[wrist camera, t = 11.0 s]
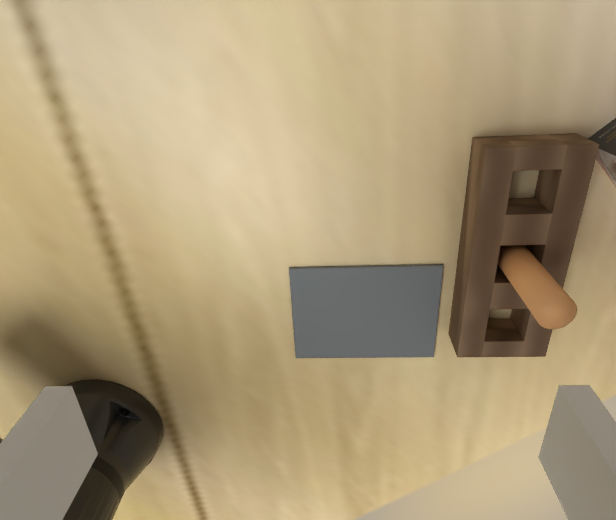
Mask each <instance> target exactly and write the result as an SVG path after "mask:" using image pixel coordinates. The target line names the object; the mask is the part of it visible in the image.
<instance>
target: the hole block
mask: <svg viewBox="0 0 616 520" xmlns="http://www.w3.org/2000/svg"><path fill="white" fill-rule="evenodd" d="M598 147H599V144H598V143H596V142H593V141H591V140H589V139H587V138H584V137H582V136H580V135H578V134H549V135H521V136H494V137H473V138H472V146H471V155H470V163H469V171H468V179H467V187H466V195H465V204H464V212H463V220H462V228H461V236H460V245H459V253H458V261H457V269H456V277H455V285H454V294H453V302H452V310H451V318H450V326H449V336H450V339H451V342H452V344H453V347H454V349H455V352H456V355H457V357H539V356H546V352H547V348H548V344H549V340H550V337H551V333H552V329H547V328H544V327H542V326H541V325H540V324H539V323H538V322H537V320H536V319H535V318H534V316H533V315H532V313H531V312H530V310H529V309H528V307H527V306H526V304H525V303H524V302H523V300H522V299H521V297H520V296H519V294H518V293H517V291H516V290H515V289H514V287H513V286H512V284H511V283H510V281H509V280H508V278H507V277H506V275H505V274H504V273H503V271H502V270H501V268H500V267H499V265H498V258H499V252H500V246H502V245H525V246H526V247H527V249H528V250H529V251H530V252H531V253H532V254H533V255H534V257H535V258H536V259H537V260H538V261H539V262H540V264H541V265H542V266H543V267H544V268H545V269H546V270H547V272H548V273H549V274H550V275H551V276H552V277H553V278H554V280H555V281H556V282H557V283H558V284H559V285H560V287H561V288H562V289H563V285H564V281H565V277H566V274H567V270H568V266H569V262H570V258H571V254H572V250H573V246H574V242H575V238H576V234H577V230H578V226H579V222H580V218H581V214H582V210H583V207H584V203H585V199H586V195H587V191H588V187H589V183H590V179H591V175H592V171H593V167H594V163H595V159H596V155H597V151H598ZM523 170H540V171H539V176H538V181H537V186H536V191H535V196H534V198H521V199H509V193H510V187H511V181H512V175H513V171H523ZM490 309H512V313H511V318H510V319H488V317H489V311H490Z"/></svg>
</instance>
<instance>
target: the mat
mask: <svg viewBox="0 0 616 520" xmlns="http://www.w3.org/2000/svg"><path fill="white" fill-rule="evenodd" d="M289 274H290V287H291V300H292V313H293V326H294V340H295V353H296V358H374V357H434V349H435V339H436V330H437V321H438V311H439V302H440V292H441V283H442V274H443V264H425V265H375V266H324V267H289Z"/></svg>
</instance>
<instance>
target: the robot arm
mask: <svg viewBox="0 0 616 520" xmlns="http://www.w3.org/2000/svg"><path fill="white" fill-rule="evenodd" d="M162 436H163V426H162V422H161V419H160V417H159V415H158V413H157V412H156V410H155V409H154V408H153V407H152V405H151V404H150V403H149V402H148V401H146V400H145V399H144V398H143V397H142V396H140V395H139V394H137V393H135V392H134V391H132V390H130V389H128V388H126V387H123V386H121V385H118V384H115V383H111V382H106V381H99V380H84V381H78V382H74V383H71V384H68V385H66V386H45V387H44V389H43V390H42V391H41V393H40V394H39V395H38V396H37V398H36V399H35V400H34V401H33V403H32V404H31V405H30V407H29V408H28V409H27V410H26V412H25V413H24V414H23V415H22V417H21V418H20V419H19V421H18V422H17V423H16V424H15V426H14V427H13V428H12V429H11V431H10V432H9V433H8V435H7V436H6V437H5V438H4V440H3V439H1V438H0V520H112V519H113V517H114V515H115V512H116V510H117V508H118V505H119V503H120V501H121V498H122V496H123V494H124V492H125V490H126V489H127V488H128V487H129V486H130V485H131V483H132V482H133V481H134V480H135V479H136V478H137V476H138V475H139V474H140V473H141V472H142V470H143V469H144V468H145V467H146V466H147V465H148V464H149V463H150V462H151V460H152V459H153V458H154V456H155V454H156V452H157V450H158V447H159V445H160V442H161V440H162ZM539 459H540V461H541V463H542V466H543V468H544V470H545V472H546V474H547V476H548V478H549V480H550V482H551V484H552V486H553V489H554V491H555V493H556V495H557V497H558V499H559V501H560V503H561V505H562V507H563V509H564V512H565V513H566V516H567V518H568V520H616V422H615V420H614V419H613V417H612V416H611V415H610V413H609V412H608V410H607V409H606V408H605V406H604V405H603V403H602V402H601V401H600V399H599V398H598V396H597V395H596V394H595V392H594V391H593V389H592V388H591V387H590V385H559V387H558V391H557V394H556V398H555V401H554V405H553V408H552V412H551V415H550V419H549V422H548V426H547V429H546V433H545V436H544V440H543V443H542V447H541V451H540V454H539Z"/></svg>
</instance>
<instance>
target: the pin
mask: <svg viewBox="0 0 616 520" xmlns="http://www.w3.org/2000/svg"><path fill="white" fill-rule="evenodd" d="M498 265H499V267H500V268H501V270H502V271H503V273H504V274H505V275H506V277H507V278H508V280H509V281H510V283H511V284H512V286H513V287H514V289H515V290H516V291H517V293H518V294H519V296H520V297H521V299H522V300H523V302H524V303H525V304H526V306H527V307H528V309H529V310H530V312H531V313H532V315H533V316H534V318H535V319H536V320H537V322H538V323H539V324H540V325H541V326H542V327H544V328H547V329H558V328H562V327H564V326H566V325H568V324H569V323H570V322H571V321H572V320H573V319H574V318H575V316H576V313H577V306H576V304H575V303H574V301H573V300H572V299H571V298H570V297H569V296H568V295H567V293H566V292H565V291H564V290H563V289H562V288H561V287H560V285H559V284H558V283H557V282H556V281H555V280H554V278H553V277H552V276H551V275H550V274H549V273H548V272H547V270H546V269H545V268H544V267H543V266H542V265H541V264H540V262H539V261H538V260H537V259H536V258H535V257H534V255H533V254H532V253H531V252H530V251H529V250H528V249H527V247H526V246H525V245H502V246H500V252H499V258H498Z"/></svg>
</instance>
